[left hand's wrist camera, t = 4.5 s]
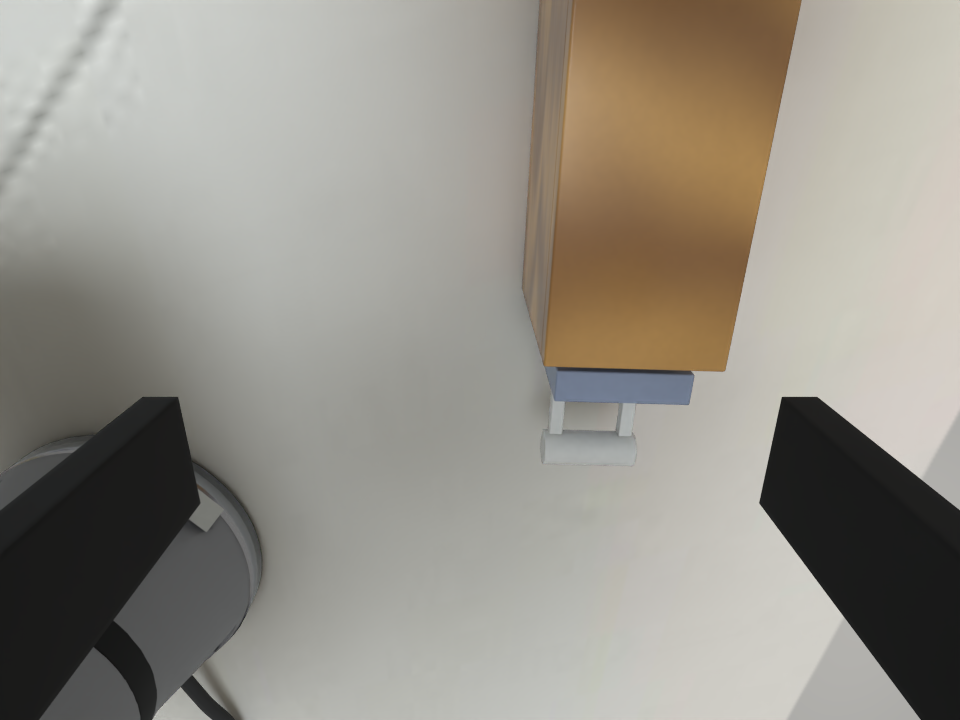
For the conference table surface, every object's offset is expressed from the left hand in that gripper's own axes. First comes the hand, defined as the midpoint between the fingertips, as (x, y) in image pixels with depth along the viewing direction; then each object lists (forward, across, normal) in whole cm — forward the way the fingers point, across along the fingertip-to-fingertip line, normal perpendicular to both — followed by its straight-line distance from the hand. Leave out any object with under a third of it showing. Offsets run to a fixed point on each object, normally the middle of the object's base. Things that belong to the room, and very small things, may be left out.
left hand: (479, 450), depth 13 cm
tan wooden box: (+16, -5, -9) cm, 19 cm away
